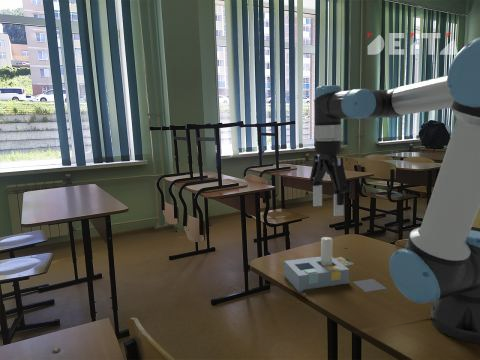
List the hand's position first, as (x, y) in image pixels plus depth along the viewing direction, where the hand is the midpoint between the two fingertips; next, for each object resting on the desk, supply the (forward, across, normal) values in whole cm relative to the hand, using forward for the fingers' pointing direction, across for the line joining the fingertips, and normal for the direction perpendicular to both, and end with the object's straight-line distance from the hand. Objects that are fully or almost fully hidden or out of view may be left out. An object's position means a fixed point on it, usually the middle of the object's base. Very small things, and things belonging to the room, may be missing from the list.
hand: (327, 210), depth 114 cm
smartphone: (+22, +10, -6) cm, 25 cm away
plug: (+21, 0, 0) cm, 21 cm away
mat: (+22, -8, -9) cm, 25 cm away
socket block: (+22, +1, +4) cm, 22 cm away
